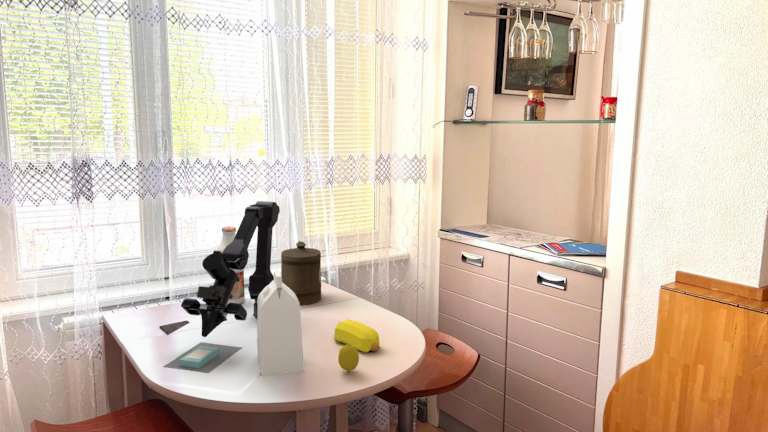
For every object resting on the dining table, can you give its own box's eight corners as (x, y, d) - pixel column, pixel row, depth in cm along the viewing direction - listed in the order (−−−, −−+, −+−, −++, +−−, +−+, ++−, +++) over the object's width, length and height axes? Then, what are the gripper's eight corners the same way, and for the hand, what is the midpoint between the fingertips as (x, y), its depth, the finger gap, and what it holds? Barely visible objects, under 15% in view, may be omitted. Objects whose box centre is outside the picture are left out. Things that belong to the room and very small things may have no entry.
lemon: (338, 367, 159) (338, 340, 158) (358, 367, 160) (358, 339, 158) (338, 376, 154) (338, 348, 152) (359, 376, 154) (359, 347, 153)
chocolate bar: (187, 320, 194) (207, 336, 180) (187, 323, 194) (208, 339, 180) (159, 326, 188) (178, 343, 174) (159, 328, 188) (178, 346, 175)
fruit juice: (213, 301, 215) (210, 227, 210) (236, 296, 221) (233, 224, 216) (226, 307, 208) (223, 231, 203) (249, 302, 215) (247, 227, 210)
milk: (304, 370, 157) (302, 277, 153) (260, 376, 154) (257, 281, 150) (297, 353, 169) (296, 266, 164) (257, 358, 165) (254, 269, 161)
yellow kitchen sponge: (346, 334, 185) (327, 340, 179) (346, 313, 184) (327, 319, 178) (386, 350, 172) (367, 357, 167) (386, 328, 171) (367, 335, 165)
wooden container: (329, 298, 220) (328, 241, 216) (299, 308, 209) (298, 248, 205) (303, 290, 229) (302, 236, 226) (273, 299, 218) (271, 242, 215)
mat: (200, 344, 175) (200, 342, 175) (242, 349, 171) (242, 347, 171) (163, 368, 158) (163, 366, 158) (208, 375, 154) (208, 373, 154)
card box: (200, 345, 168) (179, 359, 158) (218, 347, 166) (198, 361, 157) (200, 351, 168) (179, 365, 159) (219, 353, 166) (199, 368, 157)
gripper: (182, 271, 168) (160, 320, 160) (240, 276, 163) (221, 327, 155) (199, 290, 177) (179, 337, 168) (255, 295, 172) (237, 344, 164)
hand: (203, 336), depth 164 cm, fingers closed
